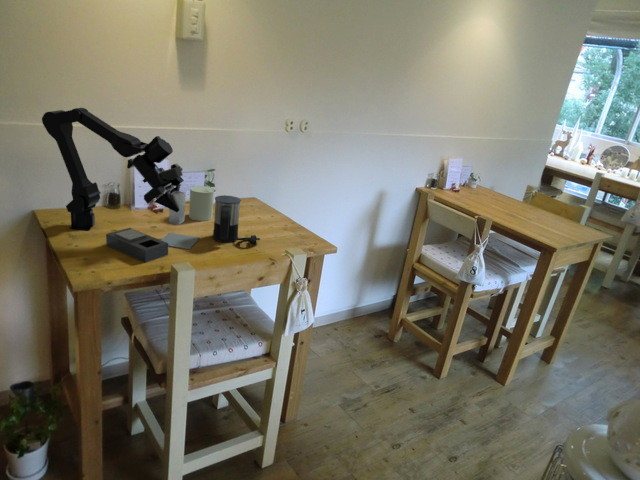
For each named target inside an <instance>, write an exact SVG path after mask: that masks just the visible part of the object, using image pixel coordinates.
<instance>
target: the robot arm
mask: <svg viewBox="0 0 640 480" xmlns="http://www.w3.org/2000/svg"><path fill="white" fill-rule="evenodd" d="M41 123H42V125H43V127H44V129H45V130H46V132H47V133H48V135H49V136H50V137H52V138H53V139H54V140H55V142H56V145H57V147H58V149H59V152H60V154H61V157H62V160H63V162H64V165H65V167H66V170H67V173H68V175H69V178H70V180H71V183H72V185H71V198H72V200H70V202H69V203H67V204H66V205H65V207H66V210H67V212H68V213H70V221H71V223H70V226H69V229H71V230H82V231H83V230H84V231H90V230H91V229H92V228H93V227H94V226H95V225H96V219H95V212H94V209H93V208H95V207H96V205H97V204H98V203H99V201H100V200H101V196H100V194H102V193H101V191H100V190H99V187H98V186H99V185H98V184H97V182H96V181H94V182H91V180H89V178H88V176H87V174H86V173H87V172H86V170H85V169H84V168H85V167H84V164H83V163H82V160H81V158H80V155H79V152H78V149H77V146H76V143H75V142H74V138H73V132H74V126H73V124H74V123H79V124H80V125H82V126H84V127H85V128H87V129H88V130H90V131H91V132H93V133H95V134H96V136H97V135H98V136H99V137H100V138H102V139H103V140H104V141H106V142H108V143H109V144H110V145H111V146H112V149H113V150H114V151H116V152H117V153H118V154H119V155H120V156H121V157H123V158H129V159H127V166H126V169H131V168H135V169H136V170H137V172H138V173H139V174H140V175H141V176H142V182H143V183H144V184H145V183H147V184H148V185H149V186H150V187H151V189H150V190H149V191H147V192H146V193H145V194H143V200H144V202H145V203H146V204H147V205H148V204H150V203H152V202H153V203H154V204H155V203H156V204H158V205H160V206H163V207H165V208H167V209H168V210H169V209H171V210H173V211H175V212H178V211H179V209H178V207H177V205H176V204H175V202H174V201H173V199H172V198H171V196H170V194H171V193H172V192H174V191H180V188H181V186H182V183H184V181H185V180H184V178H182V176H183V167H181V165H179V164H178V163H174V164H172V165H170V168H169V169H164V167H159V166H158V165H157V164H160V163H162V162H163V161H164V160H165V159H167V158H168V157H169V156H170V155H171V154H172V153H174V151H173V148H172V145H171V144H170V143H169V142H167V141H166V140H165V139H163V138H161V136H159V135H156V136H155V137H153V139H152V140H151V141H150V142H148V143H147V142H143V141H141V140H140V139H139V138H138V137H136V136H134V135H132V134H129V133H126V132H123V131H119V129H118V130H117V129H116V128H114V127H113V126H111V125H110V124H108V123H107V122H105V121H104V120H103V119H101V118H99V117H98V116H96V115H95V114H93V113H91V112H90V111H89V110H88V109H87V108H85V107H75V108H73V109H70V110H63V109H61V110H59V109H58V110H51V111H47V112H44V113H43V116H42V117H41ZM141 153H143V154H141ZM133 156H134V158H131V157H133ZM155 199H156V200H155ZM153 200H154V201H153Z"/></svg>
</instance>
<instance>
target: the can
mask: <svg viewBox="0 0 640 480" xmlns="http://www.w3.org/2000/svg"><path fill="white" fill-rule="evenodd" d="M214 193H215V189H214V188H212V187H209V186H204V185H195V186H191V187H190V188H189V211H188V218H189V219H190V220H192V221H199V222H207V221H211V220H212V219H213V211H214V210H213V208H214Z"/></svg>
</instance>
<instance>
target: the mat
mask: <svg viewBox="0 0 640 480" xmlns="http://www.w3.org/2000/svg"><path fill="white" fill-rule="evenodd" d="M160 240H161V241H164V242H166V243H168V248H176V249H183V250H191V248H192V247H194V245H196V243H197V242H198V241H199V240H200V237H199V236H193V235H185V234H179V233H173V232H168V233H166V235H165V236H164V237H163V238H161V239H160Z"/></svg>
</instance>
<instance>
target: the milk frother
mask: <svg viewBox="0 0 640 480" xmlns="http://www.w3.org/2000/svg"><path fill="white" fill-rule="evenodd" d="M214 199H215V203H214V205H215V206H214V222H213V231H212V233H213V234H212V238H213V239H214V240H215V241H218V242H221V243H222V242H223V243H232V242H236V241H250V242H251V243H257V241H261V238H260V237H257V236H256V235H254V234H252V235H250V237H239V219H240V208H241V207H240V206H241V202H242V199H241V198H240V197H237V196H234V195H225V194H224V195H218V196H215V197H214Z"/></svg>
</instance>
